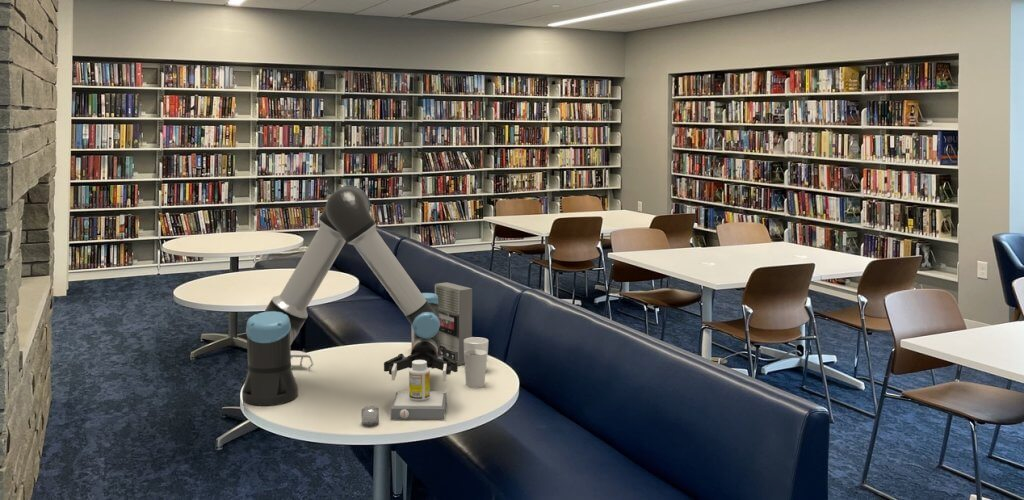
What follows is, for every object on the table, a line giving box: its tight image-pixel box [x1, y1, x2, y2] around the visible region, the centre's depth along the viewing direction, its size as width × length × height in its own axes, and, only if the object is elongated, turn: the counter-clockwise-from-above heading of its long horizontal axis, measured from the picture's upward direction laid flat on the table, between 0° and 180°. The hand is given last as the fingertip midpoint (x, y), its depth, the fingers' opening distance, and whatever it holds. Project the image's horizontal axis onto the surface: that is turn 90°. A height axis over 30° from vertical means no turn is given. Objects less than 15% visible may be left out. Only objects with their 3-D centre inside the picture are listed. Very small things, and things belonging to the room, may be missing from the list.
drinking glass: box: [464, 349, 487, 389], centre depth 237 cm, size 7×7×10 cm
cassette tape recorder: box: [434, 281, 473, 367], centre depth 261 cm, size 14×6×25 cm, turn 42°
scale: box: [390, 390, 447, 421], centre depth 214 cm, size 14×13×4 cm
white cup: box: [464, 336, 489, 372], centre depth 251 cm, size 8×8×10 cm
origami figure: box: [291, 350, 314, 372], centre depth 250 cm, size 12×8×5 cm
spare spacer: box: [361, 405, 380, 428], centre depth 204 cm, size 4×4×4 cm
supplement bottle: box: [408, 360, 431, 401], centre depth 213 cm, size 6×6×10 cm
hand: (418, 375), depth 210 cm, fingers open, 13 cm apart
